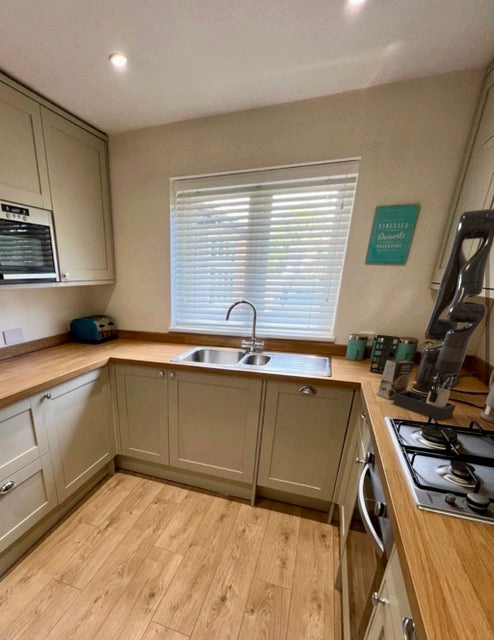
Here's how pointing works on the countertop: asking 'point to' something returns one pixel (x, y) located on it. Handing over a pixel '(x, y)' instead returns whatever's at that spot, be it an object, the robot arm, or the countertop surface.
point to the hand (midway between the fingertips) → (436, 400)
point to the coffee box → (395, 377)
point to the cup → (440, 398)
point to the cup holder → (422, 405)
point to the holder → (384, 352)
